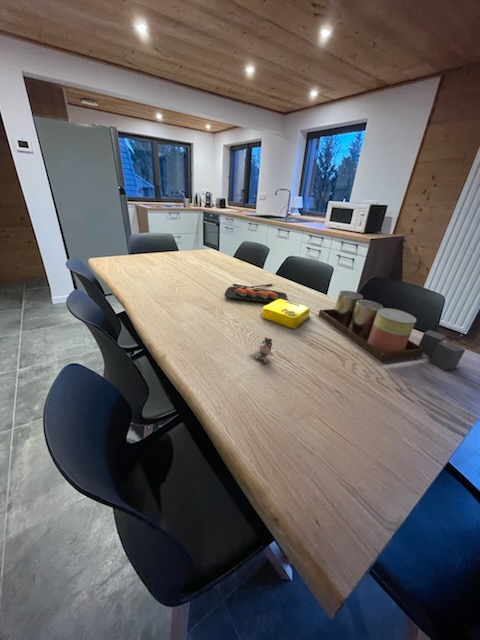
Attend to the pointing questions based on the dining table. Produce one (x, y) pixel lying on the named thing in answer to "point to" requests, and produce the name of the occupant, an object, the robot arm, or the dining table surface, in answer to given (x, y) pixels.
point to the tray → (408, 352)
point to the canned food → (391, 330)
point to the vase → (265, 349)
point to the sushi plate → (254, 294)
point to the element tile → (286, 313)
